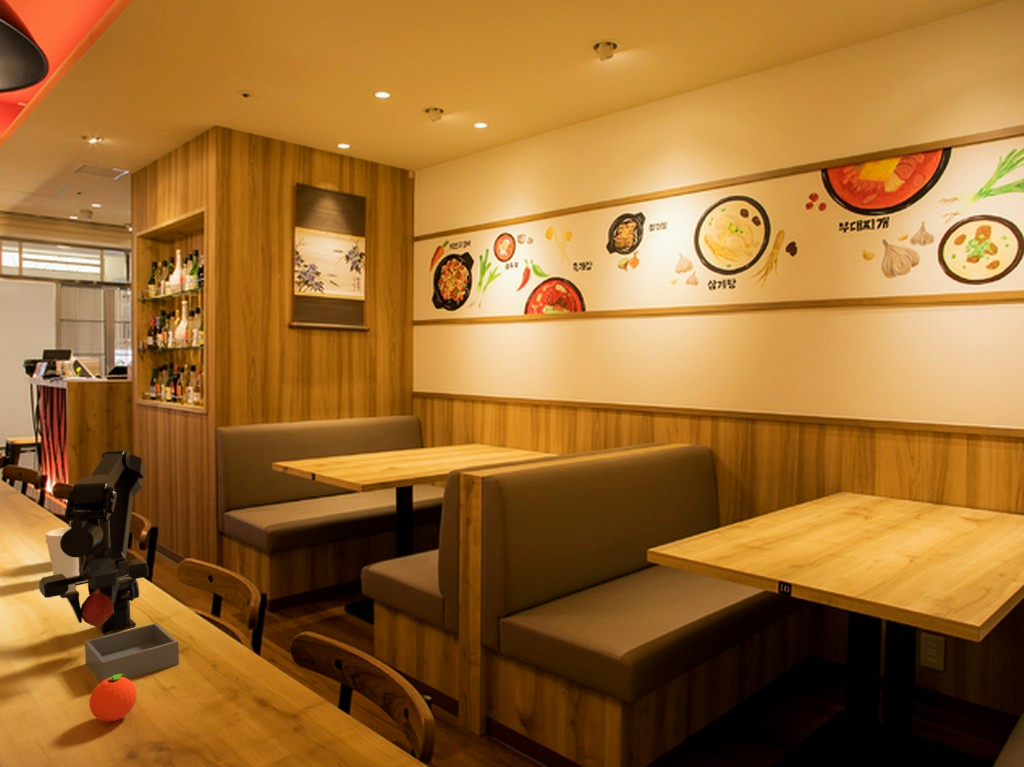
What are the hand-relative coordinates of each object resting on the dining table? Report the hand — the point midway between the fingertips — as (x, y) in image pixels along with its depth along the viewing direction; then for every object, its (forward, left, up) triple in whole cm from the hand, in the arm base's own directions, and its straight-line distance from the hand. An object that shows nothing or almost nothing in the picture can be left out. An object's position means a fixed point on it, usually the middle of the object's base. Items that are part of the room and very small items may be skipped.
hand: (97, 618), depth 146 cm
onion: (0, 0, -2) cm, 2 cm away
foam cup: (-56, +6, -7) cm, 57 cm away
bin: (+12, +3, -7) cm, 14 cm away
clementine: (+32, -5, -7) cm, 33 cm away
